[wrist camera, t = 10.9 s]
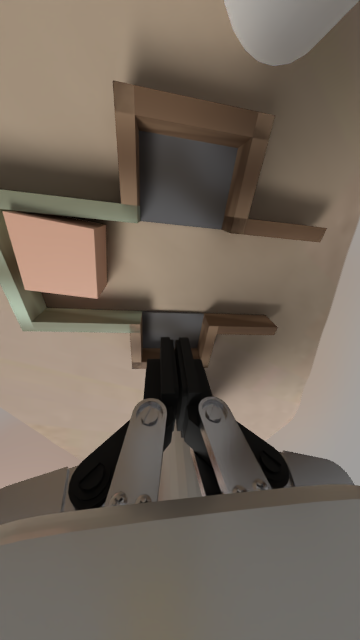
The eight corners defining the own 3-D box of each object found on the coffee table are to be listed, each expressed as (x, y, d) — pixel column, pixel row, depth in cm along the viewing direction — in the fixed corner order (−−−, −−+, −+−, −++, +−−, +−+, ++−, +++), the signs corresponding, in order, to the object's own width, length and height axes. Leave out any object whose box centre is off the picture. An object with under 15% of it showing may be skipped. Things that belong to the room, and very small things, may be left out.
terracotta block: (107, 283, 20) (97, 298, 17) (48, 275, 19) (24, 289, 15) (106, 224, 17) (93, 229, 13) (35, 210, 16) (2, 211, 12)
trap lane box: (249, 352, 28) (258, 367, 26) (53, 352, 24) (41, 369, 22) (337, 147, 15) (372, 136, 13) (-59, 69, 11) (-122, 29, 9)
